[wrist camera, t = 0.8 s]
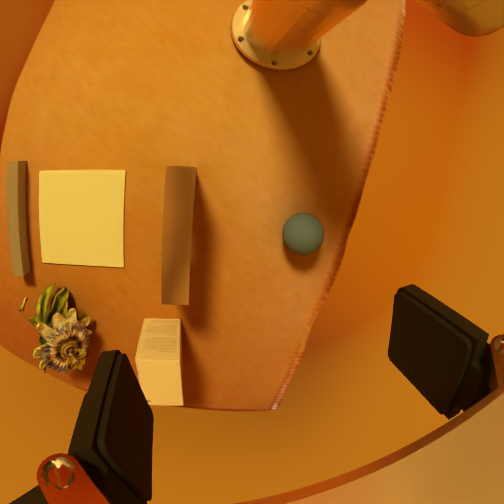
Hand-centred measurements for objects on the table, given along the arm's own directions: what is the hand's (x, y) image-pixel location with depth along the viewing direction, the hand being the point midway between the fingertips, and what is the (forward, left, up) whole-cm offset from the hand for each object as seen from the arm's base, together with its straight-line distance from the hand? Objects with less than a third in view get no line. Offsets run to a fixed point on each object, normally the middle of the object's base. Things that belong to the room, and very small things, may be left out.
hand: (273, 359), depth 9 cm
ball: (+2, +12, -29) cm, 32 cm away
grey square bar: (+2, -28, -32) cm, 42 cm away
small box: (+20, -6, -32) cm, 38 cm away
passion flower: (+18, -22, -32) cm, 43 cm away
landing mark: (+2, -18, -32) cm, 36 cm away
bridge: (+2, -4, -32) cm, 32 cm away
